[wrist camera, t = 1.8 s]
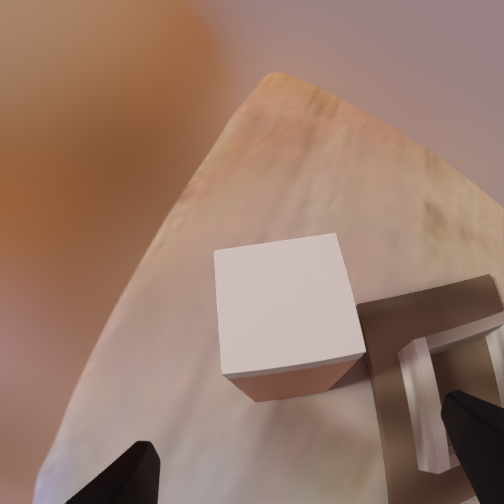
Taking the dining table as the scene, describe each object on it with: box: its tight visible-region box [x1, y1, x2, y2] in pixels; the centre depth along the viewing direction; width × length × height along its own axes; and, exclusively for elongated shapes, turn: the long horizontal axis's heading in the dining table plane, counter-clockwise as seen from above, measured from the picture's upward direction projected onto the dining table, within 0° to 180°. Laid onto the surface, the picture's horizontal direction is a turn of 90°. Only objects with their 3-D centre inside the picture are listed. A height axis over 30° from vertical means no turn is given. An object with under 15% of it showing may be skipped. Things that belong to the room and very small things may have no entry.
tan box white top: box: [214, 233, 366, 402], centre depth 15 cm, size 5×5×11 cm
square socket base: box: [356, 274, 504, 504], centre depth 15 cm, size 16×12×4 cm
